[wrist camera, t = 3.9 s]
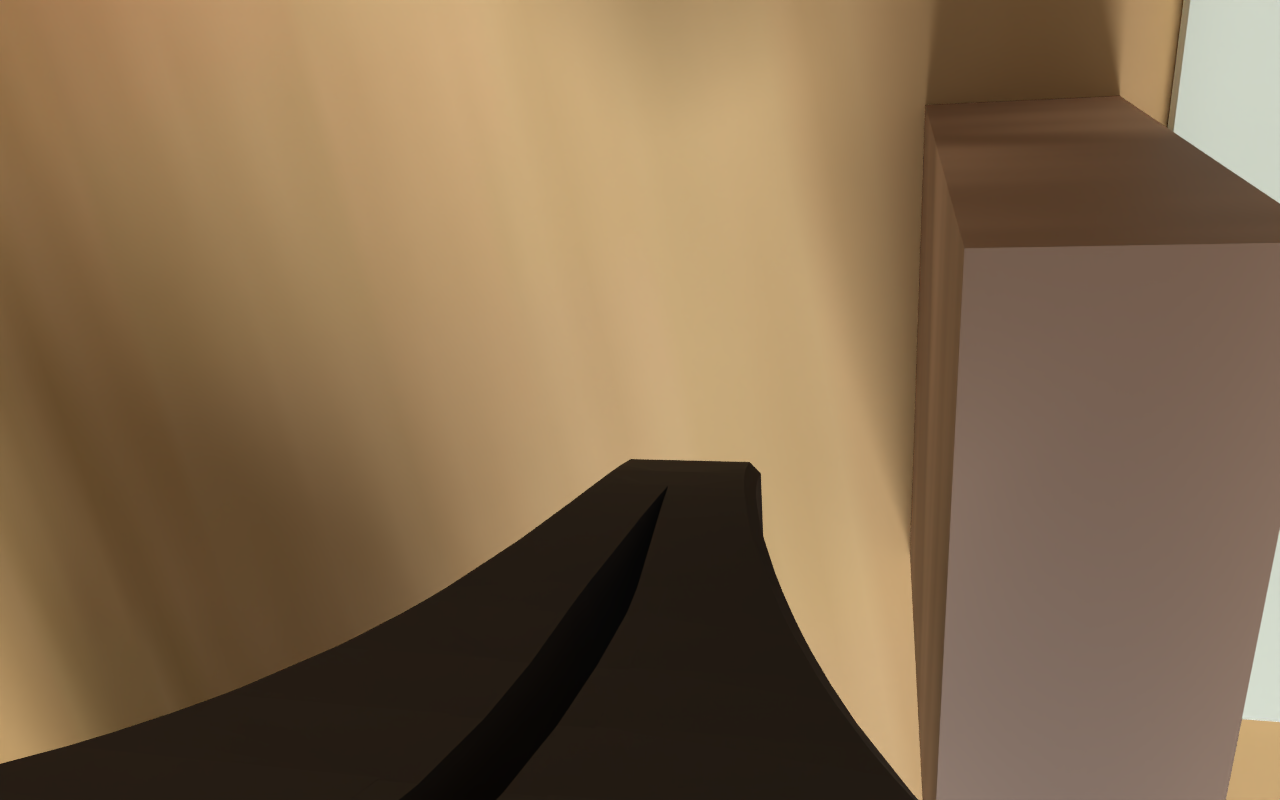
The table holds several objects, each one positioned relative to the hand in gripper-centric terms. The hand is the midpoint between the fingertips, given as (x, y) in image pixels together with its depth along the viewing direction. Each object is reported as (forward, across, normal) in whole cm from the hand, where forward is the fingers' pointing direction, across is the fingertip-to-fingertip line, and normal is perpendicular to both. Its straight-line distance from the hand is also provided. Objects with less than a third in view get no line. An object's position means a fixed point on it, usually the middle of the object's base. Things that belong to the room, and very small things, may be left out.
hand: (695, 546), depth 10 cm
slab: (+6, -4, 0) cm, 7 cm away
